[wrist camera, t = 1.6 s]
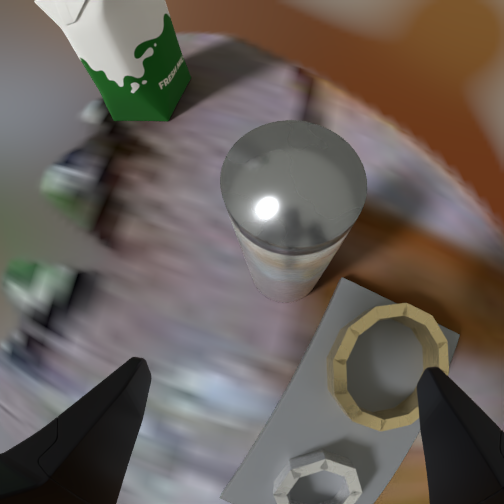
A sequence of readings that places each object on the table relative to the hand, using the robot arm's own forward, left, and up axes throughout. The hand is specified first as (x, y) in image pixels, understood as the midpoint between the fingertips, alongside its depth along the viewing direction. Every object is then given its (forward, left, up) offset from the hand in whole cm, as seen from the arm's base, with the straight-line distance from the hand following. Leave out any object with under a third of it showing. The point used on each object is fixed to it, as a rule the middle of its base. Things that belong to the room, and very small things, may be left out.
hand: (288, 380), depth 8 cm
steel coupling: (+6, +3, -12) cm, 14 cm away
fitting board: (-2, -7, -12) cm, 15 cm away
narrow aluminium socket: (-7, -7, -12) cm, 16 cm away
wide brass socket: (+3, -7, -12) cm, 14 cm away
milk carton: (+17, +24, -13) cm, 32 cm away
